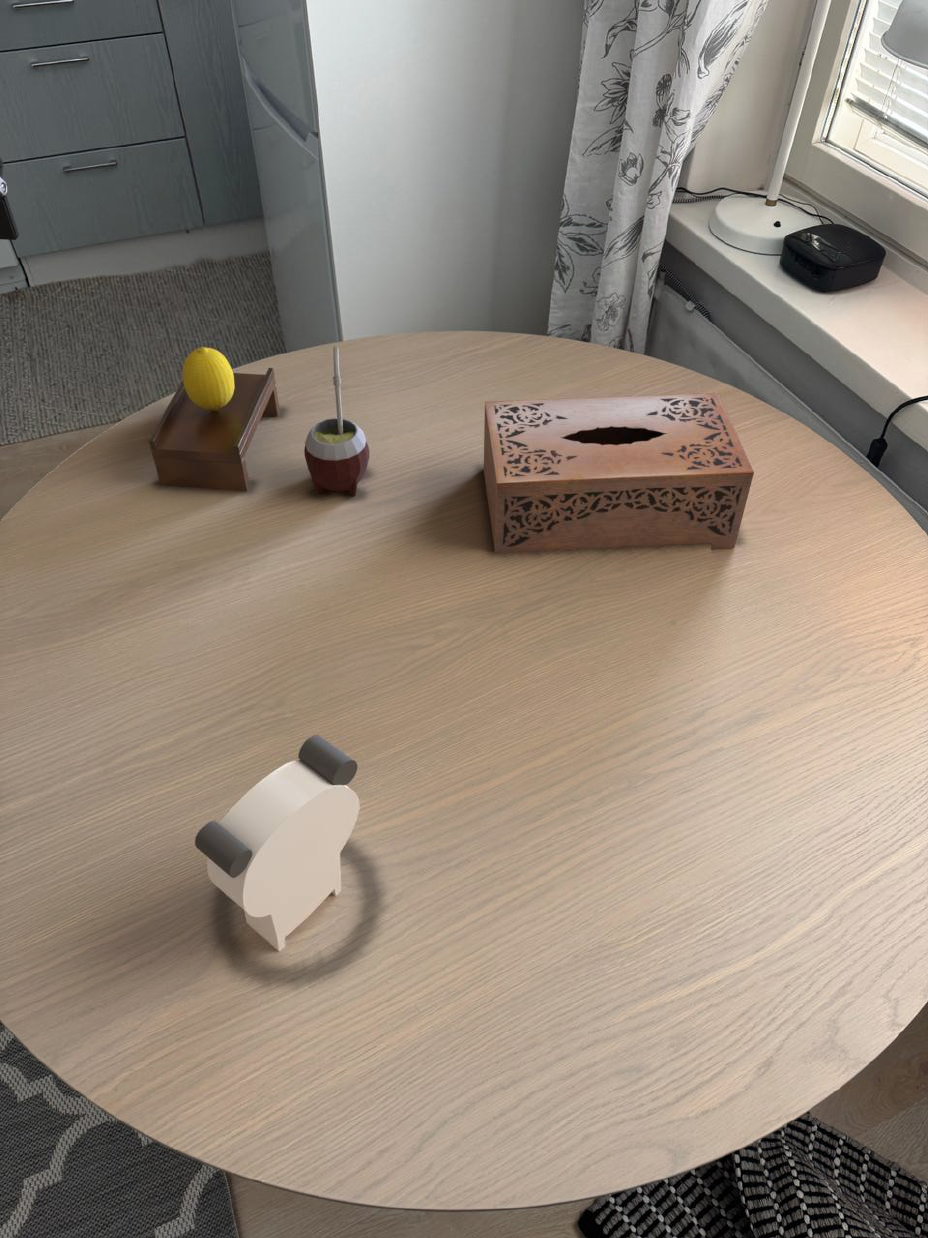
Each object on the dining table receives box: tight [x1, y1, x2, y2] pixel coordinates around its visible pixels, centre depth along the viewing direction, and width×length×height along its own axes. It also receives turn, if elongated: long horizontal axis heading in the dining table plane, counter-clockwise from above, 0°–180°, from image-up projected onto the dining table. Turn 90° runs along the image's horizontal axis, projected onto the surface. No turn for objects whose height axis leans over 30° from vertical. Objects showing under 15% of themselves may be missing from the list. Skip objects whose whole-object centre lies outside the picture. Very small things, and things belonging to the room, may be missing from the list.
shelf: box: [148, 367, 281, 492], centre depth 116 cm, size 10×16×7 cm, turn 174°
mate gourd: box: [303, 345, 370, 497], centre depth 108 cm, size 8×8×15 cm
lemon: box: [182, 346, 234, 411], centre depth 111 cm, size 6×6×8 cm
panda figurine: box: [194, 734, 361, 952], centre depth 72 cm, size 12×11×15 cm
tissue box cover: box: [483, 392, 755, 553], centre depth 107 cm, size 26×14×10 cm, turn 94°
